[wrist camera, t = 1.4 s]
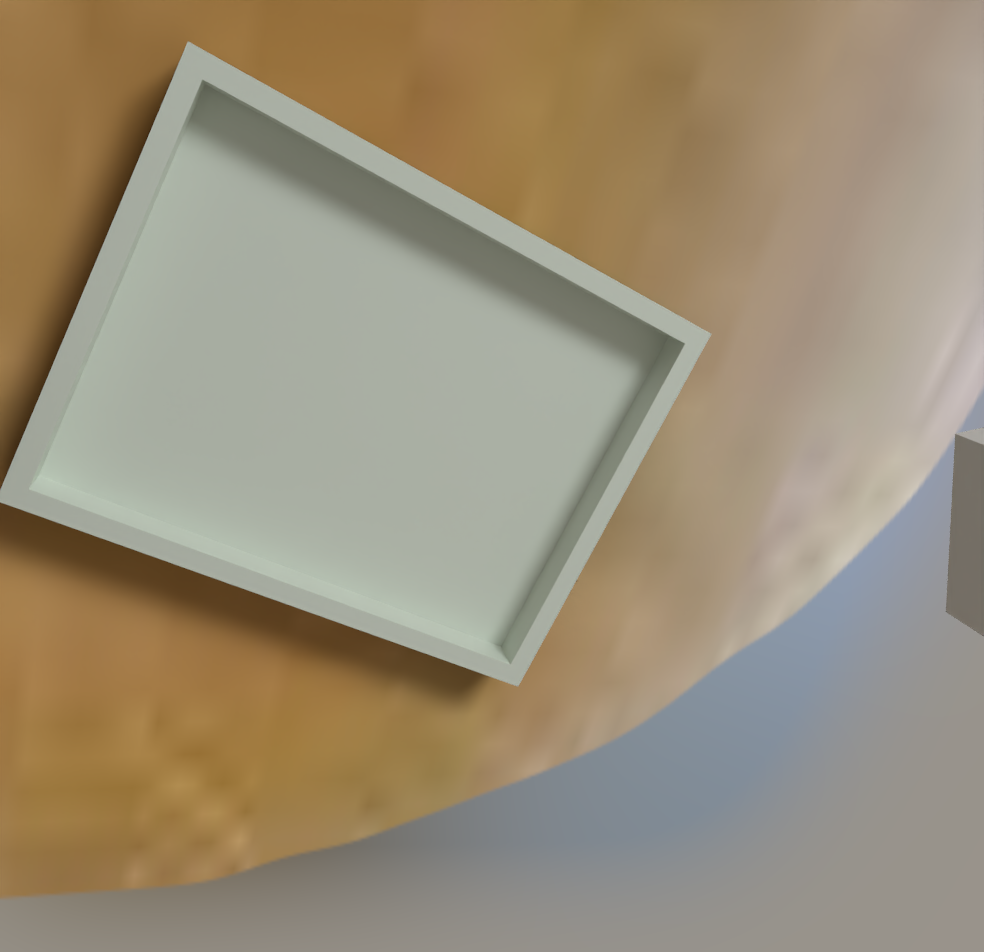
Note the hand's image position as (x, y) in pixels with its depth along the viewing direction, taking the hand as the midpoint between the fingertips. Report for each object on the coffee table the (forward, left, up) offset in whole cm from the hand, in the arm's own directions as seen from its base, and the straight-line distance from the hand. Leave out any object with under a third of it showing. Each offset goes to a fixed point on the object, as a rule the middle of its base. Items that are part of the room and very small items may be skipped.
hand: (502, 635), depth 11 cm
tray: (+1, -1, -21) cm, 21 cm away
